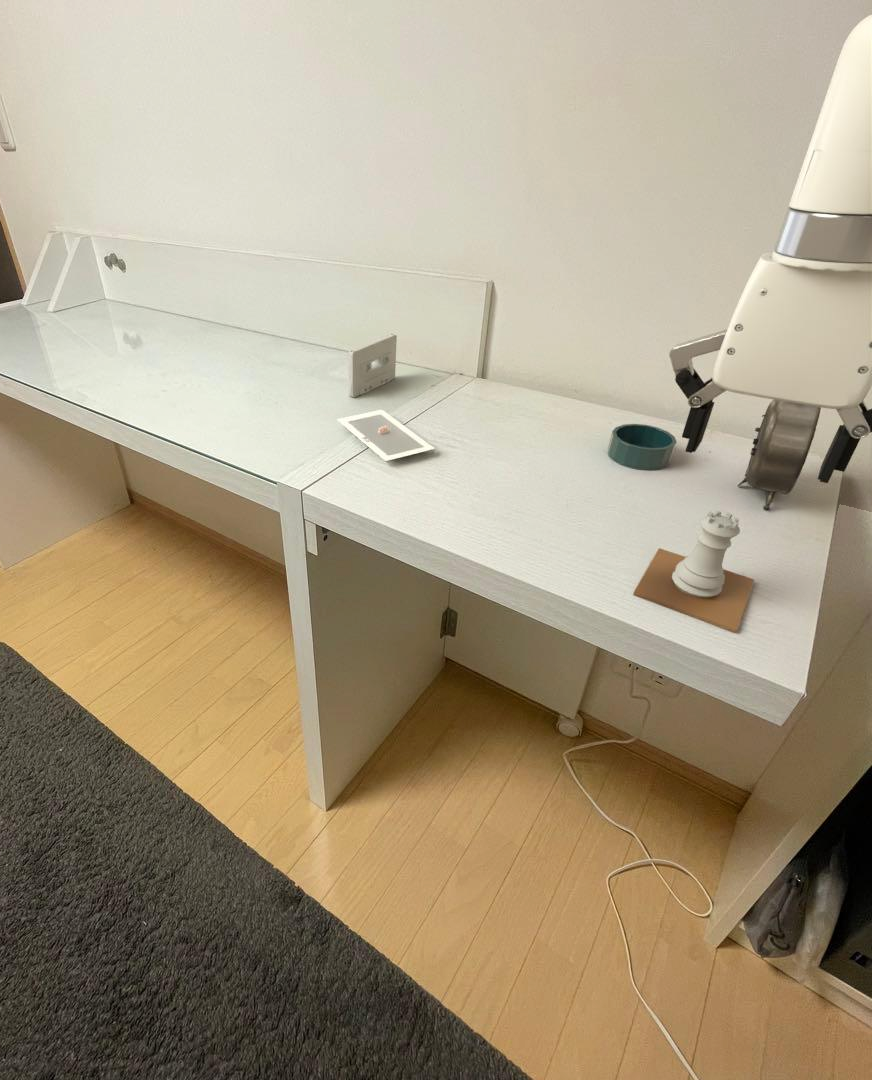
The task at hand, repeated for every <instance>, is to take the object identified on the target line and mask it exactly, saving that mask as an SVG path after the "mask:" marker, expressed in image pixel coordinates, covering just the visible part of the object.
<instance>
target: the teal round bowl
mask: <svg viewBox="0 0 872 1080" xmlns="http://www.w3.org/2000/svg"><path fill="white" fill-rule="evenodd" d="M676 446H677V439H676V437H675V435H673V434H672V433H671V432H669V431H668V430H665V429H663V428H660V427H657V426H653V425H649V424H642V423H627V424H626V423H625V424H621V425H618V426H615V428H614V429H613V430H612V431H611V435H610V438H609V442H608V445H607V451H606V452H607V455H608V457H609V458H610V459H611V460H612V461H613V462H615V463H617V464H619V465H621V466H624V467H626V468H630V469H634V470H641V471H655V470H656V471H657V470H662V469H664V468H666V467H667V466H668V465H670V462H671V461H672V457H673V454H674V452H675V449H676Z"/></svg>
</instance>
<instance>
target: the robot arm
mask: <svg viewBox="0 0 872 1080" xmlns="http://www.w3.org/2000/svg"><path fill="white" fill-rule="evenodd" d="M819 112H820V113H819V114H818V118H817V121H816V124H815V126H814V130H813V133H812V136H811V139H810V143H809V145H808V149H807V151H806V154H805V156H804V159H803V163H802V164H801V169H800V171H799V175H798V177H797V180H796V183H795V186H794V189H793V192H792V195H791V198H790V201H789V203H788V207H787V209H786V213H785V216H784V219H783V222H782V225H781V227H780V230H779V233H778V236H777V239H776V242H775V245H774V249H773V251H770V252H765V253H762V254H761V256H760V257H759V259H758V261H757V263H756V264H755V266H754V268H753V270H752V272H751V274H750V275H749V278H748V280H747V282H746V285H745V287H744V289H743V290H742V293H741V296H740V298H739V299H738V303H737V305H736V307H735V309H734V311H733V314H732V317H731V319H730V321H729V325H728V327H727V329H724V330H720V331H718V332H714V333H710V334H707V335H704V336H700V337H697V338H694V339H691V340H687V341H683V342H681V343H678V344H675V345H674V346H673V347H672V348H671V349H670V351H669V359H670V363H671V366H672V370H673V373H674V376H675V378H674V380H675V383H676V385H677V386H678V388H679V389H680V390H681V392H682V393H683V394H684V396H685V398H686V399H687V405H688V406H689V407H690V408H689V411H688V415H687V419H686V422H685V424H684V428H683V431H682V435H681V438H684V439H687V440H688V441H687V444H686V447H685V450H684V451H685V453H690V454H692V453H696V452H697V449H698V448H699V447H700V445H701V443H702V442H703V438H704V436H705V433H706V431H707V426H708V424H709V420H710V418H711V414H712V411H713V408H714V406H715V401H714V399H716V398H717V397H719V396H720V395H722V394H723V393H725V392H730V393H735V394H740V395H746V396H750V397H757V398H762V399H766V400H767V399H768V400H772V401H773V400H779V401H785V402H791V403H797V404H803V405H809V406H815V407H821V409H830V410H835V411H836V412H837V413H838V415H839V416H838V417H840V420H841V421H842V423H843V424H839V426H838V428H837V431H836V433H835V435H834V437H833V439H832V441H831V444H830V446H829V447H828V450H827V452H826V454H825V456H824V458H823V460H822V463H821V465H820V468H819V471H818V476H817V480H818V481H819V482H821V483H825V484H829V481H830V479H831V477H832V475H833V473H834V471H838V472H842V473H844V472H845V471H846V469H847V467H848V465H849V463H850V461H851V459H852V457H853V455H854V453H855V451H856V449H857V447H858V445H859V443H860V441H861V439H865V438H867V437H868V436H869V435H870V433H872V408H869V407H868V406H867V404H866V402H865V398H866V397H867V395H868V393H869V392H870V390H871V388H872V14H870V15H867V16H866V17H865V18H863V19H862V20H860V21H859V22H858V23H857V25H856V26H854V28H853V29H852V30H851V31H850V33H849V34H848V36H847V38H846V40H844V43H843V46H842V49H841V51H840V53H839V56H838V59H837V62H836V64H835V67H834V70H833V74H832V76H831V79H830V82H829V85H828V88H827V92H826V94H825V98H824V100H823V104H822V106H821V110H820V111H819ZM717 351H718V353H717V356H716V360H715V363H714V366H713V370H712V377H710V378H709V379H706V380H705V381H704V380H703V379H702V378H701V376H700V375H699V373H698V372H697V371H696V369H695V368H694V365H693V358H695V357H699V356H703V355H706V354H710V353H714V352H717Z"/></svg>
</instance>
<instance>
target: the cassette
mask: <svg viewBox="0 0 872 1080" xmlns="http://www.w3.org/2000/svg"><path fill="white" fill-rule="evenodd" d="M397 339H398V336H397V334H395V333H394V334H393V333H391V334H388V335H386V336H383V337H381V338H379V339H376V340H373V341H371V342H368V343H366V344H364V345H361V346H359V347H357V348H354V349H352V350H349V352H348V396H349V398H350V397H351V398H356V397H358V396H362V395H365V394H367V393H369V392H371V391H373V390H375V389H378V388H379V387H381V386H384V385H386V384H388V383H390V382H391V380H394V379H395V378H396V366H397V365H396V364H397ZM373 362H374V364H372V363H373Z"/></svg>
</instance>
